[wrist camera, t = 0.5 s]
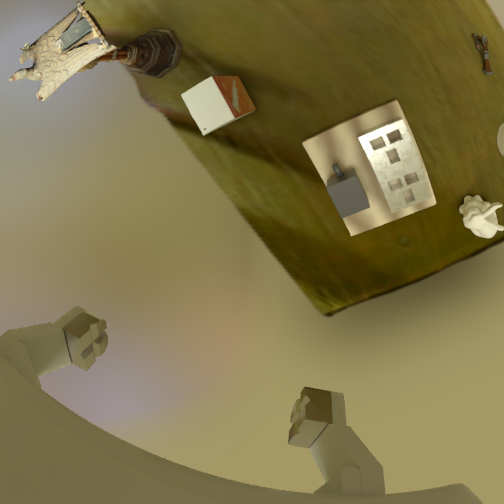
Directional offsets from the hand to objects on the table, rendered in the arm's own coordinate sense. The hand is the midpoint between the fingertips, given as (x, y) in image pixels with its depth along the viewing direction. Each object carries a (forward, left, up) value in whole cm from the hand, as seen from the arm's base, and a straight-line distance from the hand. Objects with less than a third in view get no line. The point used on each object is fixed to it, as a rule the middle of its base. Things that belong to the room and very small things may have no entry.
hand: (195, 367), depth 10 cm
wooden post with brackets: (-40, -1, -49) cm, 63 cm away
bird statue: (+15, -32, -49) cm, 61 cm away
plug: (-1, +12, -47) cm, 48 cm away
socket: (-12, +13, -47) cm, 50 cm away
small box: (+10, -12, -49) cm, 52 cm away
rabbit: (-26, +29, -49) cm, 63 cm away
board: (-7, +13, -49) cm, 51 cm away
